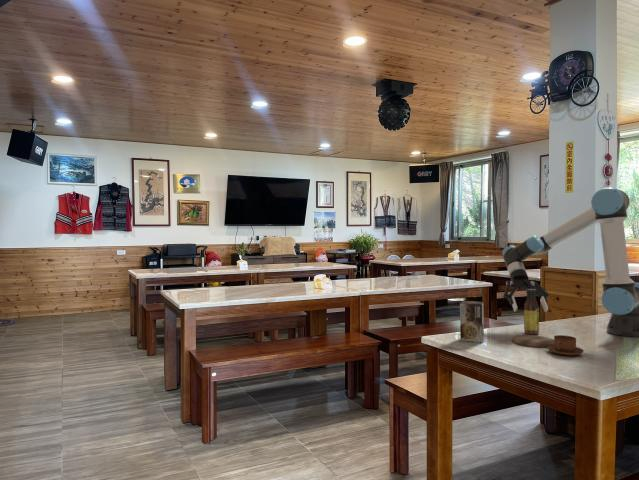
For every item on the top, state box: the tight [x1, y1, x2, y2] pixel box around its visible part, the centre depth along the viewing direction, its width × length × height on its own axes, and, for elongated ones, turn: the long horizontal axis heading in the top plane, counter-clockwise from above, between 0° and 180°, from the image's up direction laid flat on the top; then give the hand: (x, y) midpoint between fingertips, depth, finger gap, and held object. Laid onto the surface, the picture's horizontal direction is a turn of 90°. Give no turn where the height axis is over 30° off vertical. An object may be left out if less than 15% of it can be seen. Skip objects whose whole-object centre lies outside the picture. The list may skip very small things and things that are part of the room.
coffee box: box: [459, 300, 485, 343], centre depth 197 cm, size 9×6×16 cm
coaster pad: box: [512, 334, 554, 349], centre depth 192 cm, size 16×16×2 cm
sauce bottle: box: [523, 289, 540, 335], centre depth 210 cm, size 6×6×20 cm
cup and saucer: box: [547, 334, 584, 357], centre depth 175 cm, size 12×12×6 cm
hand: (531, 309), depth 210 cm, fingers open, 13 cm apart
